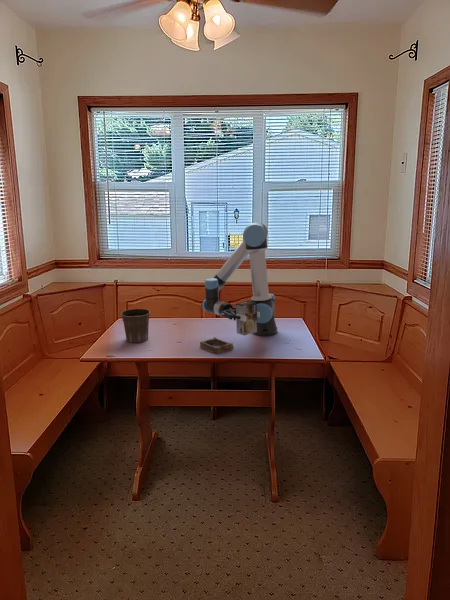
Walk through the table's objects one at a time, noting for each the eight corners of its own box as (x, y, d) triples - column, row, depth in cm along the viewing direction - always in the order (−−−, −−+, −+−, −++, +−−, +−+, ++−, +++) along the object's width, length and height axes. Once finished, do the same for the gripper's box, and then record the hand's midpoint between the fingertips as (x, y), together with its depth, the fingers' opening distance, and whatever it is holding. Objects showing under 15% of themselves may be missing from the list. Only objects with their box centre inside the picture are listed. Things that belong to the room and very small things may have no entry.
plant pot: (145, 345, 240) (143, 316, 236) (117, 343, 243) (115, 315, 240) (155, 336, 256) (154, 309, 252) (129, 334, 259) (128, 308, 255)
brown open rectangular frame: (215, 342, 244) (215, 337, 243) (233, 349, 233) (233, 343, 232) (199, 346, 237) (198, 341, 236) (217, 354, 226) (217, 348, 225)
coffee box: (249, 329, 236) (249, 300, 232) (257, 332, 231) (257, 302, 227) (236, 333, 231) (235, 303, 227) (243, 336, 226) (243, 305, 222)
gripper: (238, 312, 250) (267, 319, 233) (208, 320, 236) (237, 328, 219) (238, 299, 248) (267, 305, 231) (207, 306, 234) (236, 313, 217)
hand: (252, 316), depth 225 cm, fingers closed on coffee box, 9 cm apart
